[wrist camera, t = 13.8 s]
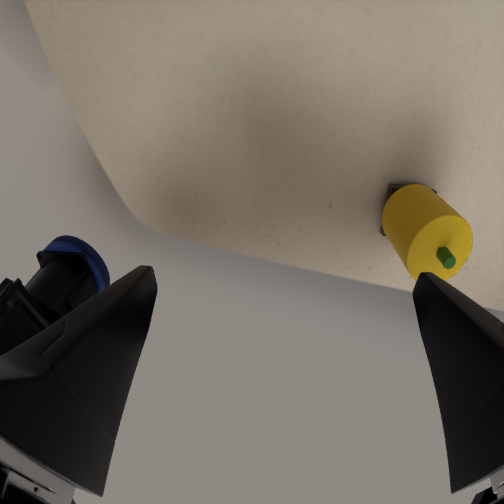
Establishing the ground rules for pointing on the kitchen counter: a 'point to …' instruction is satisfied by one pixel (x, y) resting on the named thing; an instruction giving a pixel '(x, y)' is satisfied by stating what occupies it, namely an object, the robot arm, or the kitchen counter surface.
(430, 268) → the pepper
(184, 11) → the kitchen counter surface
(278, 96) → the kitchen counter surface
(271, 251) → the kitchen counter surface
